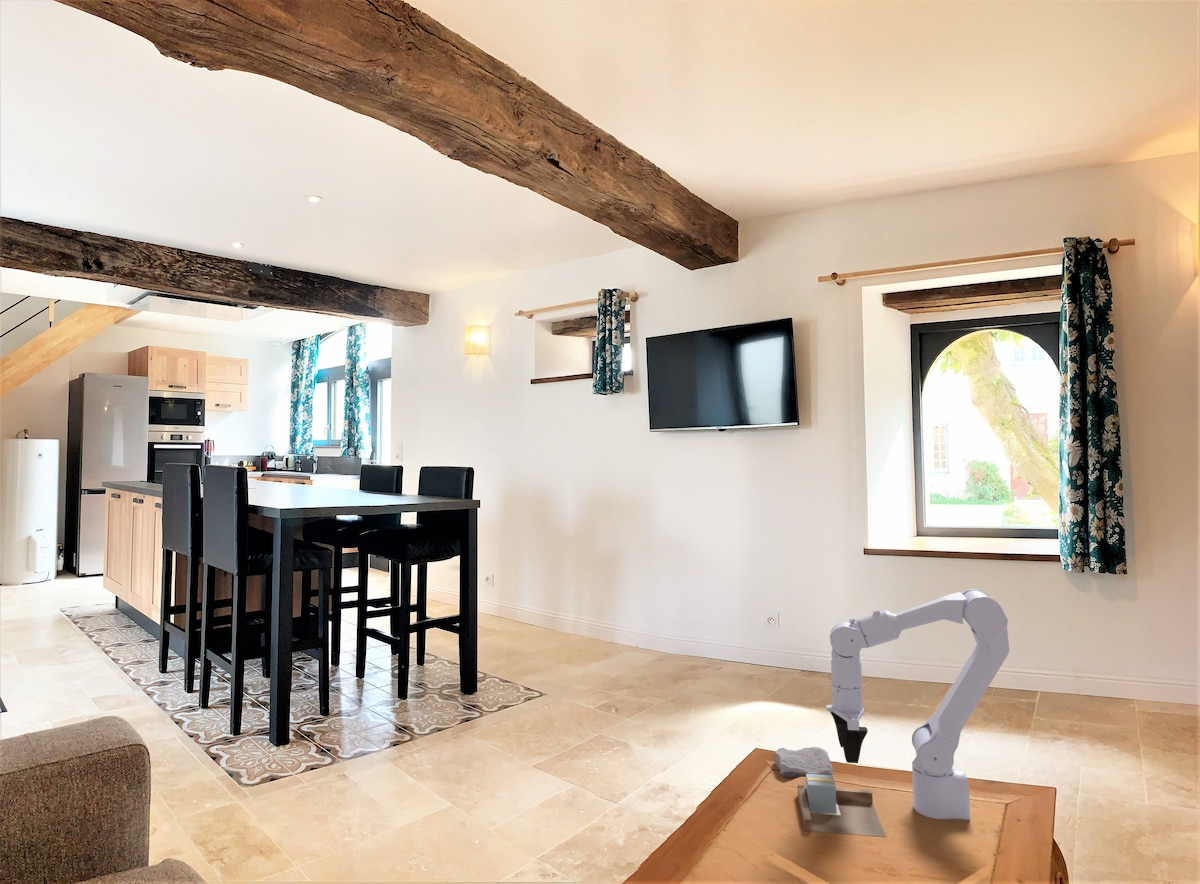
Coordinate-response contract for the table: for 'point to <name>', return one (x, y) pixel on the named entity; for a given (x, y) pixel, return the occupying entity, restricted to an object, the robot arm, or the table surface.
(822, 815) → the tray
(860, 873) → the table surface
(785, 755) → the stone block
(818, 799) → the cube
